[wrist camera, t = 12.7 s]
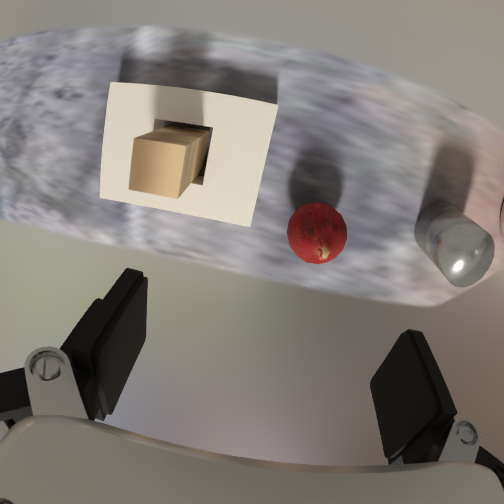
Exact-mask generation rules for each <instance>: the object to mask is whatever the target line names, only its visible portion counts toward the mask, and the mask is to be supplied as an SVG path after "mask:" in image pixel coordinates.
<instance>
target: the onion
mask: <svg viewBox="0 0 504 504" xmlns="http://www.w3.org/2000/svg"><path fill="white" fill-rule="evenodd" d="M287 235H288V240H289V245H290V247H291V248H292V250H293V251H294V252H295V254H296V255H297V256H298V257H299V258H301V259H302V260H304V261H305V262H307V263H314V264H320V263H326V262H328V261H330V260H332V259H334V258H336V257H337V255H338V254H339V253H340V252H341V251H342V250H343V248H344V245H345V243H346V240H347V228H346V224H345V222H344V220H343V218H342V216H341V214H340V213H338V212H337V211H336V210H335V209H334V208H333V207H332V206H330V205H327V204H324V203H321V202H316V203H307V204H305V205H303V206H301V207H300V208H298V209H297V210H296V211H295V212H294V214H293V215H292V216H291V218H290V220H289V224H288V229H287Z"/></svg>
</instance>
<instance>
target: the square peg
mask: <svg viewBox="0 0 504 504" xmlns="http://www.w3.org/2000/svg"><path fill="white" fill-rule="evenodd" d="M209 133H210V131H206V130H200V129H194V128H188V127H182V126H176V125H170V126H167V127H164V128H161V129H158V130H155V131H152V132H149V133H146V134H144V135H141V136H138V137H135V138H134V142H133V150H132V158H131V168H130V178H129V189H128V190H133V191H139V192H144V193H149V194H155V195H160V196H165V197H170V198H175V199H178V198H179V197H180V196H181V195H182V193H183V192H184V191H185V190H186V189H187V187H188V186H189V185H190V184H191V182H192V181H193V180H194V179H195V178H196V176H197V175H198V174H199V173H200V172H201V170H202V169H203V164H204V159H205V154H206V148H207V143H208V138H209Z"/></svg>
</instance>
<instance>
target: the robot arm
mask: <svg viewBox="0 0 504 504" xmlns="http://www.w3.org/2000/svg"><path fill="white" fill-rule="evenodd" d="M500 227H501V234H502V238H503V241H504V203H503V206H502V211H501V220H500ZM147 287H148V278H147V277H144V276H143V272H141V271H138V270H134V269H130V268H126V269H125V271H124V272H123V273H122V275H121V276H120V277H119V278H118V280H117V281H116V283H115V284H114V285H113V286H112V288H111V289H110V291H109V292H108V293H107V294H106V296H105V297H104V299H103V300H102V299H99V298H98V299H96V300H95V301H94V302H93V303H92V305H91V306H90V307H89V308H88V310H87V311H86V312H85V314H84V315H83V317H82V318H81V319H80V321H79V322H78V323H77V325H76V326H75V328H74V329H73V330H72V332H71V333H70V335H69V336H68V338H67V339H66V341H65V342H64V343H63V345H62V346H61V348H60V349H58V348H54V347H41V348H39V349H36V350H34V351H33V352H31V353H30V355H29V356H28V357H27V359H26V361H25V367H24V368H19V369H15V370H11V371H7V372H3V373H0V504H504V464H503V463H502V462H501V461H500V460H498V459H497V458H496V457H494V456H493V455H492V454H490V453H489V452H488V451H487V450H485V449H483V447H481V446H480V441H481V436H480V431H479V429H478V427H477V426H476V425H475V424H474V423H473V422H472V421H471V420H469V419H467V418H458V419H457V420H454V416H455V415H456V414H457V410H456V408H455V406H454V403H453V400H452V398H451V395H450V393H449V390H448V388H447V386H446V383H445V381H444V379H443V376H442V374H441V372H440V369H439V367H438V365H437V363H436V360H435V358H434V356H433V354H432V352H431V349H430V347H429V345H428V343H427V341H426V339H425V337H424V335H423V333H422V332H420V331H416V330H410V329H408V330H406V331H405V332H403V333H402V334H401V335H400V336H399V338H398V340H397V341H396V343H395V344H394V346H393V347H392V349H391V351H390V352H389V354H388V355H387V357H386V358H385V360H384V361H383V363H382V364H381V366H380V367H379V369H378V370H377V372H376V373H375V375H374V376H373V377H372V379H371V382H370V388H371V393H372V397H373V401H374V406H375V410H376V415H377V420H378V425H379V430H380V435H381V440H382V445H383V450H384V455H385V457H386V458H388V463H389V465H382V466H328V465H327V466H325V465H308V464H294V463H284V462H274V461H266V460H258V459H251V458H244V457H238V456H231V455H226V454H220V453H215V452H210V451H205V450H200V449H196V448H191V447H187V446H183V445H178V444H175V443H171V442H166V441H163V440H159V439H155V438H151V437H148V436H144V435H141V434H137V433H134V432H131V431H128V430H124V429H121V428H117V427H114V426H110V425H107V424H104V423H100V422H96V421H94V420H95V418H96V419H99V420H102V421H104V419H105V417H106V415H107V414H109V415H111V414H112V413H113V411H114V409H115V406H116V404H117V402H118V399H119V397H120V395H121V393H122V390H123V388H124V386H125V383H126V381H127V379H128V377H129V374H130V372H131V370H132V368H133V366H134V364H135V361H136V359H137V357H138V355H139V353H140V351H141V348H142V347H143V344H144V342H145V338H146V317H147ZM402 463H403V464H402Z"/></svg>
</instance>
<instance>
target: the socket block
mask: <svg viewBox="0 0 504 504" xmlns="http://www.w3.org/2000/svg"><path fill="white" fill-rule="evenodd" d="M277 109H278V105H277V104H272V103H268V102H263V101H258V100H254V99H249V98H243V97H238V96H233V95H227V94H221V93H215V92H208V91H202V90H195V89H187V88H179V87H170V86H161V85H150V84H137V83H121V82H111V83H110V90H109V96H108V103H107V111H106V119H105V128H104V137H103V148H102V161H101V178H100V198H104V199H110V200H115V201H120V202H126V203H131V204H136V205H142V206H147V207H152V208H157V209H163V210H168V211H173V212H178V213H183V214H188V215H193V216H198V217H203V218H208V219H213V220H218V221H223V222H228V223H233V224H237V225H242V226H247V227H250V225H251V221H252V216H253V212H254V208H255V203H256V199H257V195H258V190H259V186H260V182H261V177H262V173H263V169H264V165H265V160H266V156H267V152H268V147H269V143H270V139H271V135H272V130H273V126H274V122H275V118H276V113H277ZM164 120H168V121H175V122H182V123H189V124H195V125H201V126H207V127H213V132H212V137H211V142H210V148H209V153H208V159H207V164H206V170H205V176H204V177H202V176H196V178H195V179H194V180H193V181H192V182H191V184H190V185H189V186H188V187H187V189H186V190H185V191H184V192H183V193H182V195H181V196H180V197H179V198H178V199H175V198H170V197H165V196H160V195H155V194H149V193H144V192H139V191H133V190H128V189H129V178H130V168H131V158H132V150H133V142H134V138H135V137H138V136H141V135H144V134H146V133H149V132H152V131H155V130H158V129H161V128H163V121H164Z"/></svg>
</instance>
